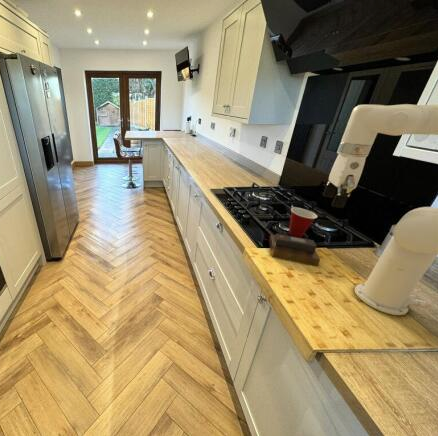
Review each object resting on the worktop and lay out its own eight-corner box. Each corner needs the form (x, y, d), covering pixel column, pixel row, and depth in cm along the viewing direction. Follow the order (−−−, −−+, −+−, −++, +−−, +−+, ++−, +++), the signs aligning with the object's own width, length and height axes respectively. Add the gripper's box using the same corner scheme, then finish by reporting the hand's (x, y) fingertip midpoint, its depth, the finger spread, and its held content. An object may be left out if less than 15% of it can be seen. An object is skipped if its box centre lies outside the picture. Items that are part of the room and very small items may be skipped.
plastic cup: (312, 242, 106) (321, 218, 101) (285, 237, 109) (293, 214, 104) (305, 231, 115) (314, 209, 110) (281, 227, 118) (288, 205, 113)
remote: (311, 246, 97) (313, 239, 96) (314, 252, 93) (316, 246, 92) (273, 239, 101) (275, 233, 100) (275, 245, 97) (277, 238, 96)
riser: (308, 247, 102) (311, 241, 101) (317, 266, 90) (320, 259, 89) (268, 240, 107) (270, 234, 105) (272, 256, 95) (274, 250, 93)
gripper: (383, 155, 63) (356, 213, 70) (356, 146, 78) (336, 195, 85) (349, 153, 65) (327, 209, 73) (330, 144, 80) (312, 192, 87)
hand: (332, 201), depth 79 cm, fingers open, 9 cm apart
